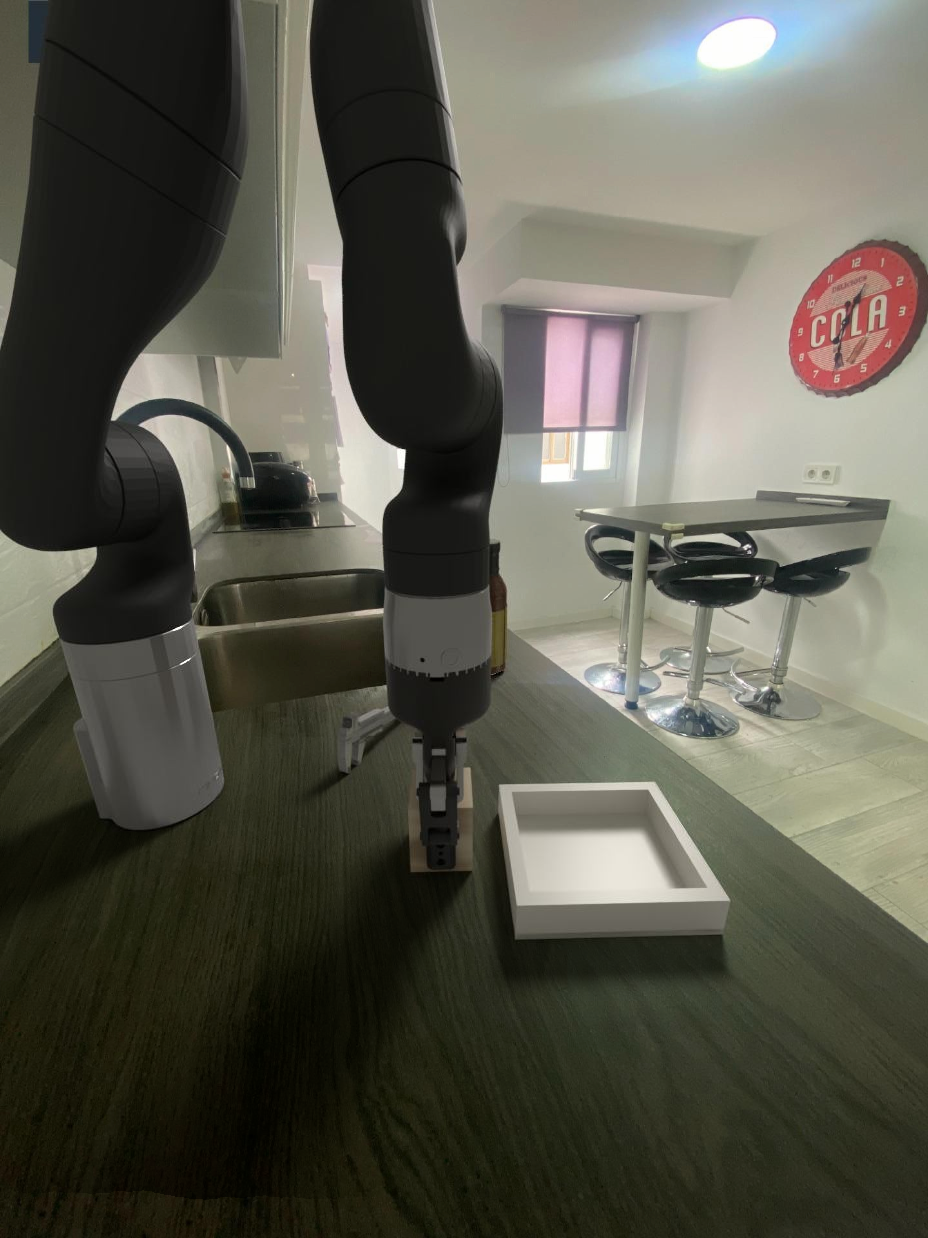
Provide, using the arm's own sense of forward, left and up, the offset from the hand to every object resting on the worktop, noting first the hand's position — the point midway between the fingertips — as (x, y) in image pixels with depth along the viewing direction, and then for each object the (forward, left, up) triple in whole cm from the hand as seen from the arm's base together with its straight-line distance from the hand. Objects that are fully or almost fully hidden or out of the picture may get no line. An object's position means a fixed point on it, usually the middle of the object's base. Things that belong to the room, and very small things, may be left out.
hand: (442, 838), depth 38 cm
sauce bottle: (+6, +35, -1) cm, 36 cm away
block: (0, 0, -1) cm, 1 cm away
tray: (+12, -2, -1) cm, 12 cm away
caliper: (-6, +19, -1) cm, 20 cm away
